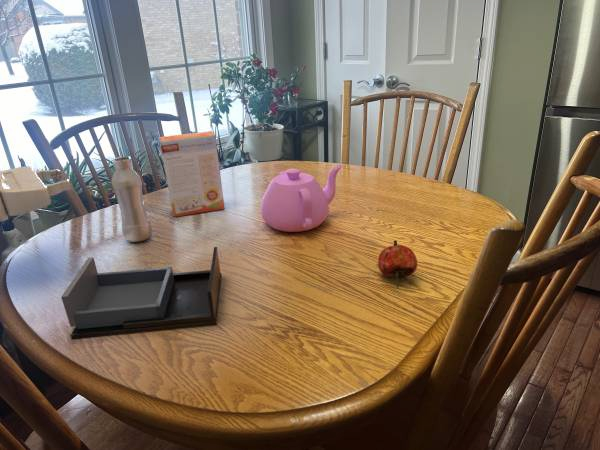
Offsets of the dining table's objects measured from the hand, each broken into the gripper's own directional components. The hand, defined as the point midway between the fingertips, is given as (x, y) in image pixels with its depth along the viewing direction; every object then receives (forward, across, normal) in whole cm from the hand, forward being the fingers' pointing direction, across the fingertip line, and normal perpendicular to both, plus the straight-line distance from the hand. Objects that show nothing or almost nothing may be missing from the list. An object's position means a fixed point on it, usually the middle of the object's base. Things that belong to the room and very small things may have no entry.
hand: (65, 178), depth 92 cm
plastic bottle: (+12, 0, -18) cm, 22 cm away
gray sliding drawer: (+1, +27, -17) cm, 32 cm away
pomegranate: (+45, +53, -18) cm, 72 cm away
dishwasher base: (+5, +30, -18) cm, 35 cm away
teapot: (+48, +19, -18) cm, 55 cm away
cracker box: (+31, -7, -18) cm, 37 cm away
